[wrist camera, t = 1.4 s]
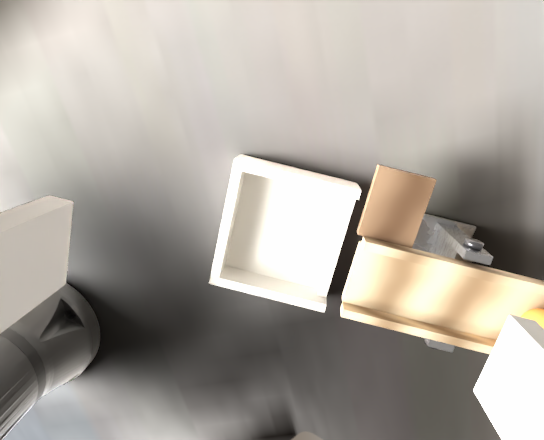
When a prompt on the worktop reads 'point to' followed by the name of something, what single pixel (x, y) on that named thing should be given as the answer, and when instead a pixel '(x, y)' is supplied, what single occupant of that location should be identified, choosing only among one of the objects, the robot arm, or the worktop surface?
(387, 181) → the lever
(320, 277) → the dish
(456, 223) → the stand
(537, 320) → the ball
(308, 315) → the worktop surface
